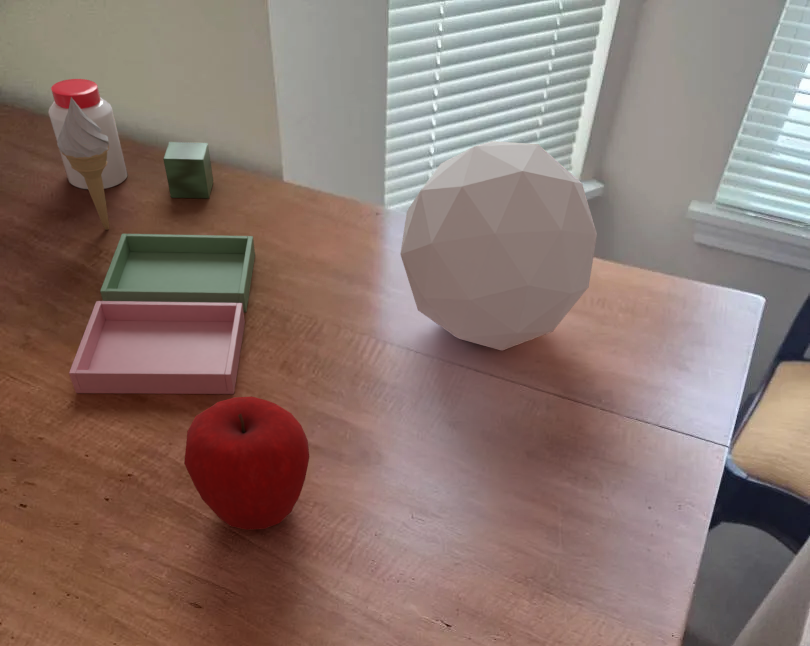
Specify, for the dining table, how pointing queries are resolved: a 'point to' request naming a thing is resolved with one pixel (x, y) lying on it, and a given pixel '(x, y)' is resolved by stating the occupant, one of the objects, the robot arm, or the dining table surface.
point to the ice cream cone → (86, 154)
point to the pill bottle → (101, 115)
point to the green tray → (180, 269)
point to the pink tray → (160, 348)
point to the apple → (247, 461)
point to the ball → (499, 244)
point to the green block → (188, 170)
